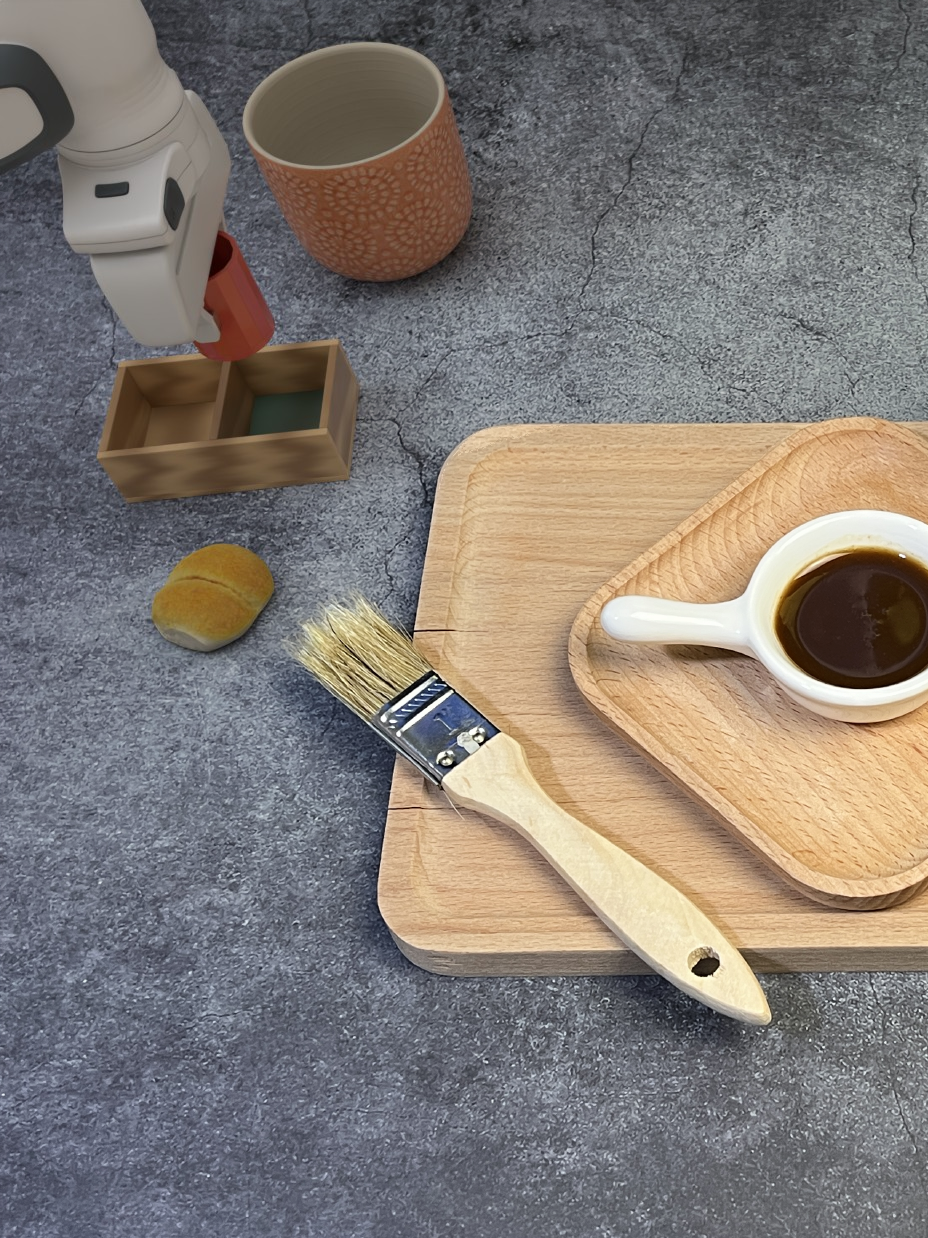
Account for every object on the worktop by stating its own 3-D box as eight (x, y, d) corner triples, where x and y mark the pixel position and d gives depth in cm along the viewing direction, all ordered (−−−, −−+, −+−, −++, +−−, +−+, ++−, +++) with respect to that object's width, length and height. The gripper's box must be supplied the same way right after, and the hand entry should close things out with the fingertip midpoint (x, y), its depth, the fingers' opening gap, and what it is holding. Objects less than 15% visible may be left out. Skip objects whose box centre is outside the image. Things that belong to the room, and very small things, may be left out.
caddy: (127, 503, 123) (95, 458, 118) (148, 407, 129) (119, 361, 124) (349, 479, 123) (326, 434, 119) (360, 385, 129) (338, 338, 125)
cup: (190, 366, 113) (146, 290, 106) (201, 309, 116) (160, 233, 110) (270, 357, 113) (231, 282, 106) (279, 301, 116) (242, 225, 110)
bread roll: (294, 572, 118) (276, 541, 115) (233, 664, 114) (212, 634, 110) (205, 548, 120) (184, 516, 117) (140, 637, 115) (117, 607, 112)
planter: (272, 238, 140) (207, 98, 128) (431, 158, 146) (383, 16, 133) (359, 336, 133) (299, 198, 120) (523, 248, 138) (482, 107, 125)
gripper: (115, 55, 106) (195, 211, 117) (57, 254, 94) (152, 405, 106) (205, 46, 106) (276, 203, 117) (158, 243, 94) (242, 396, 106)
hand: (217, 300), depth 112 cm, fingers closed on cup, 6 cm apart
